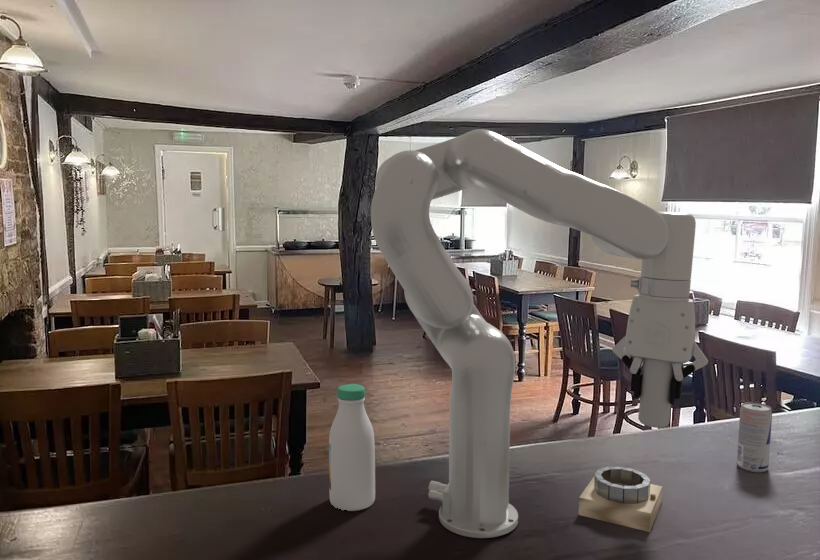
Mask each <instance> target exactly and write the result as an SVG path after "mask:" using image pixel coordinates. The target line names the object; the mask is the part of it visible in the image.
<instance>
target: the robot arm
mask: <svg viewBox="0 0 820 560" xmlns="http://www.w3.org/2000/svg"><path fill="white" fill-rule="evenodd" d="M469 188H476V189H478V190H479V191H482V192H483V193H486V194H488V195H490V196H491V197H495V198H496V199H498V200H500V201H502V202H503V203H506V204H508V205H510V206H512V207H514V208H515V209H516V210H517V209H518V210H519V211H522V212H523V213H525V214H527V215H529V216H531V217H533V218H535V219H538V220H540V221H543V222H546V223H550V224H553V225H558V226H561V227H562V226H563V227H567V228H570V229H574V230H575V231H580V232H582V233H585V234H587V235H589V236H591V240H592V242H593V244H594V245H595V246H596V248H598V250H599V251H602V252H604V253H605V254H608V255H611V256H616V257H621V258H627V259H635V260H641V268H640V276H639V278H636V279H633V278H632V279H631V280H630V288H635V289H636V290H637V291H638V293H639V294H634V295H633V297H632V301H631V304H630V308H629V313H628V319H627V326H626V332H625V336H623V337H622V338H621V339H620V340H619V341H618V343H616V344H615V345H614V346H613V347H612V349H611V350H612V352H613V353H614V354H615V356H616V357H618V358H619V359H620V360H621V361H622V363H623V364H624V365H625V366H626V367H627V368H628V370H629V372H630V373H631V381H630V392H633V399H640V393H641V382H642V371H643V368H642V367H643V360H644V359H649V360H656V361H663V362H670V363H672V365H673V370H674V376H673V379H672V380H671V388H670V400H669V403H670V404H671V406H675V404H676V402H677V400H681V398H682V391H683V389H682V388H683V380H684V379H685V378H687V377H688V376H690V375H691V374H692V373H694V372H695V371H697V370H699V369H702V368H704V367H705V366H707V365H708V363H709V359H708V358H707V357H706V355H705V354H704V352H703V351H702V349H701V347H699V345H698V344H697V343H696V340H695V339H696V314H695V303H694V299H691V298H690V293H691V283H692V271H693V258H694V249H695V238H696V236H695V235H696V227H697V226H696V225H697V224H696V218H695V217H694V215H693V214H691V213H687V212H678V211H657V210H655V209H653V208H651V207H650V206H648V205H647V204H645V203H643V202H641V201H639V200H637V199H635V198H633V197H631V196H630V195H628V194H626V193H624V192H622V191H621V190H620V191H619V190H617V189H615V188H612V187H610V186H609V185H606V184H603V183H600V182H598V181H595V180H593V179H591V178H588V177H586V176H583V175H582V174H579V173H577V172H575V171H572V170H568V169H566V168H564V167H562V166H560V165H557V164H556V163H553V162H552V161H550V160H548V159H546V158H545V157H543V156H540V155H539V154H538V153H535V152H533V151H531V150H529V149H527V148H526V147H524V146H522V145H520V144H518V143H516V142H514V141H512V140H510V139H509V138H507V137H505V136H503V135H502V134H499V133H497V132H495V131H492V130H491V129H490V130H489V129H486V128H485V129H484V128H477V129H472V130H470V131H467V132H465V133H463V134H461V135H458V136H455V137H453V138H450V139H448V140H445V141H442V142H438V143H435V144H432V145H429V146H425V147H421V148H419V149H414V150H403V151H400V152H397V153H395V154H393V155H392V156H391V157H389V158H387V159H386V160H384V161H383V162H382V163H381V165H380V166H379V168H378V169H377V172H376V176H375V189H374V193H373V195H372V199H371V208H370V223H371V230H372V234H373V237H374V240H375V243H376V244H377V247H378V250H379V251H380V253H381V254H382V256H383V259H385V262H386V263H387V264H388V266H389V268H390V269H391V272H392V273H393V275H394V276H395V278H396V280H397V281H398V283H399V285H400V286H401V287H402V289H403V290H404V291H403V292H404V293H403V294H404V298H405V303H406V304H407V306H408V308H409V310H410V311H411V313H412V314H413V315H414V317H415V319H416V320H417V322H418V323H419V325H420V326H421V328H422V329H423V331H424V332H425V333H426V335H427V337H428V338H429V340H430V341H431V342H432V344H433V345H434V347H435V348H436V350H437V351H438V353H439V354H440V356H441V357H442V359H443V360H444V361H445V363H446V364H447V365H448V366H449V367H450V369H451V386H450V388H451V389H450V392H449V393H450V394H449V407H448V408H449V409H448V429H449V430H448V483H447V484H445V483H442V482H440V481H435V480H430V481H429V485H428V498H429V499H430V500H435V501H436V500H437V501H440V502H441V503H442V505H441V506H440V507H439V510H438V519H439V522H440V524H441V525H442V526H443V527H444V528H445V529H447V530H448V531H450V532H452V533H454V534H457V535H459V536H463V537H468V538H474V539H491V538H498V537H502V536H504V535H506V534H509V533H511V532H512V531H514V529H515V528H517V526H518V524H519V512H518V510H517V509H516V508H515V506H513V505H512V504H511V503H510V502H509V501H510V500H509V498H510V496H509V495H510V492H509V491H510V453H511V452H510V450H511V449H510V448H511V447H510V444H511V442H510V441H511V435H510V434H511V405H512V404H511V403H512V400H511V399H512V392H513V385H514V379H515V373H516V354H515V351H514V348H513V346H512V344H511V341H510V340H509V338H508V337H507V336H506V334H504V333H503V332H502V331H501V330H500V329H498V328H496V326H494V325H492V324H491V323H489V322H487V321H486V320H485V318H484V317H483V316H482V314H481V313H480V311H479V309H478V308H477V307H476V304H475V303H474V293H473V290H472V287H471V285H470V284H469V281H468V280H467V279H466V277H465V276H464V275H463V274H462V273H461V271H460V270H459V269H458V266H457V265H456V264H455V262H454V261H453V259H452V258H451V256H450V254H449V253H448V252H447V250H446V249H445V247H444V245H443V244H442V241H441V240H440V239H439V237H438V234H436V231H435V229H434V227H433V225H432V222H431V219H430V218H431V217H430V207H431V202H432V201H433V200H436V199H439V198H443V197H446V196H450V195H452V194H455V193H458V192H461V191H463V190H467V189H469ZM692 357H694V359H695V360H694V361H692V362H691V363H688V362H690V361H691V359H692ZM686 363H688V364H687V365H686V366H685V365H684V364H686Z"/></svg>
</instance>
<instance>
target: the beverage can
mask: <svg viewBox="0 0 820 560" xmlns="http://www.w3.org/2000/svg"><path fill="white" fill-rule="evenodd" d="M673 376H674V370H673V365H672V363H670V362H663V361H656V360H649V359H644V360H643V363H642V382H641V393H640V397H639V406H638V415H637V416H638V420H639V422H640V423H641V424H642V425H644V426H647V427H650V428H656V429H658V428H659V429H660V428H662V429H663V428H666V427H667V426H668V425H669V424H670V419H671V408H672V404H670V403H669V400H670V388H671V380H672V379H673Z"/></svg>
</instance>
